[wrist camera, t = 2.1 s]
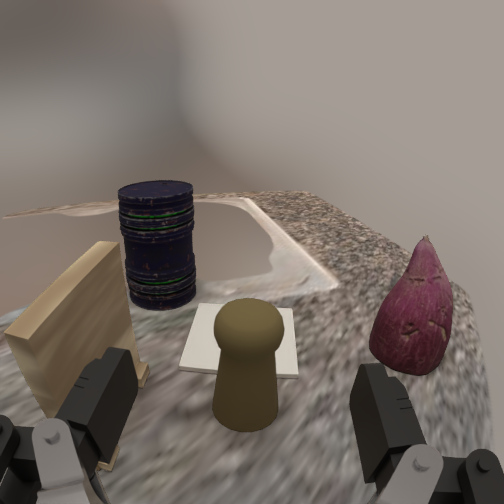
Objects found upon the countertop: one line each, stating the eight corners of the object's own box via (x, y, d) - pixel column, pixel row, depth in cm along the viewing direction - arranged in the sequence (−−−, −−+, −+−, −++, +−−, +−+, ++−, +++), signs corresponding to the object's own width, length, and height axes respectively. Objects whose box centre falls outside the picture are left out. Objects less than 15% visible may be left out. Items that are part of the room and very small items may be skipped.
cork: (209, 386, 29) (204, 289, 25) (270, 380, 30) (280, 285, 26) (216, 435, 24) (210, 339, 19) (285, 427, 25) (303, 330, 21)
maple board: (68, 460, 19) (-7, 329, 13) (116, 363, 31) (88, 240, 25) (110, 474, 19) (41, 343, 13) (150, 369, 31) (129, 242, 25)
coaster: (179, 369, 31) (178, 365, 31) (199, 306, 42) (199, 302, 42) (297, 378, 31) (298, 374, 30) (291, 312, 42) (291, 308, 41)
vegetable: (358, 344, 40) (359, 232, 38) (426, 335, 40) (432, 228, 37) (380, 385, 30) (387, 244, 28) (460, 369, 29) (475, 238, 27)
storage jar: (181, 317, 40) (174, 200, 33) (116, 303, 41) (101, 196, 35) (206, 280, 49) (204, 181, 42) (148, 271, 50) (141, 179, 44)
